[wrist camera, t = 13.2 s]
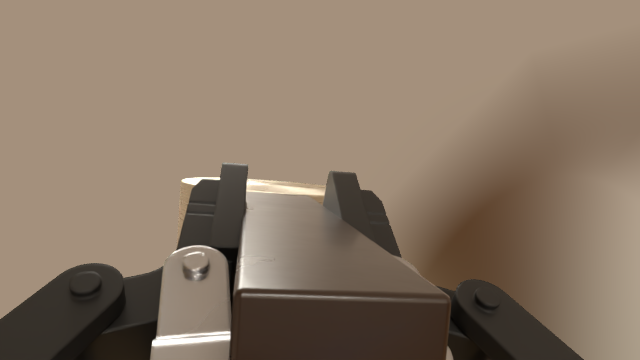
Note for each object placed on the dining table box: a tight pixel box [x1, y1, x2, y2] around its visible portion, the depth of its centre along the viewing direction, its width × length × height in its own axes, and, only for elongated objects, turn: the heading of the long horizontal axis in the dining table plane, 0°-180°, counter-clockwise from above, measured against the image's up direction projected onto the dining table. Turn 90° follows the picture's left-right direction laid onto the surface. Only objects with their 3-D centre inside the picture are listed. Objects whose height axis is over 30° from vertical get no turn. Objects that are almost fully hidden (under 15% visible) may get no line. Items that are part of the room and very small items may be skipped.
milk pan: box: [177, 178, 451, 360], centre depth 15 cm, size 8×20×5 cm, turn 9°
